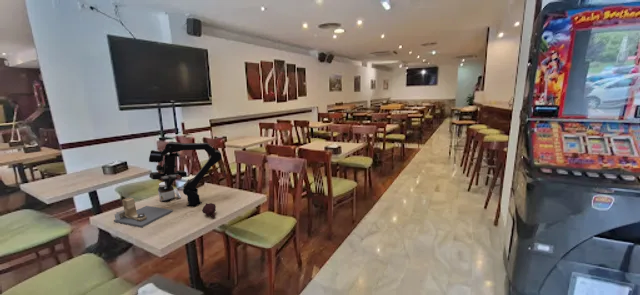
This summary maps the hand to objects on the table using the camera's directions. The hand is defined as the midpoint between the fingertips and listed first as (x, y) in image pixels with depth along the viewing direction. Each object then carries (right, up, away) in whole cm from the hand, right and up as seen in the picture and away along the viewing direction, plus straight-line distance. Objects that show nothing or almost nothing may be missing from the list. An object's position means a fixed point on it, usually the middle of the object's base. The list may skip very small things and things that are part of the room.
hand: (167, 188), depth 156 cm
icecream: (+28, -14, -6) cm, 32 cm away
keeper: (-14, -15, -9) cm, 23 cm away
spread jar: (-8, -10, +18) cm, 22 cm away
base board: (-10, -15, -6) cm, 19 cm away
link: (-12, -15, -10) cm, 22 cm away
